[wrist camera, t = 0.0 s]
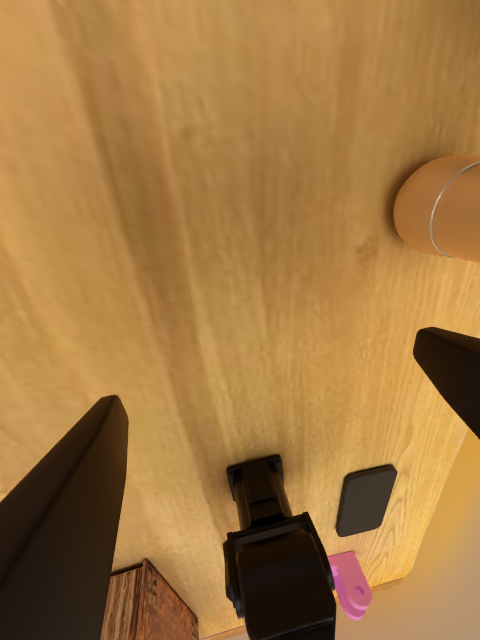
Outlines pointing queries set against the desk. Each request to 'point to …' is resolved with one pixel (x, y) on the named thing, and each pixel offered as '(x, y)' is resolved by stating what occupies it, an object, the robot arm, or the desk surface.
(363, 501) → the phone
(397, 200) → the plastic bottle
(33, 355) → the desk surface
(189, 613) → the book
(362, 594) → the bracket
